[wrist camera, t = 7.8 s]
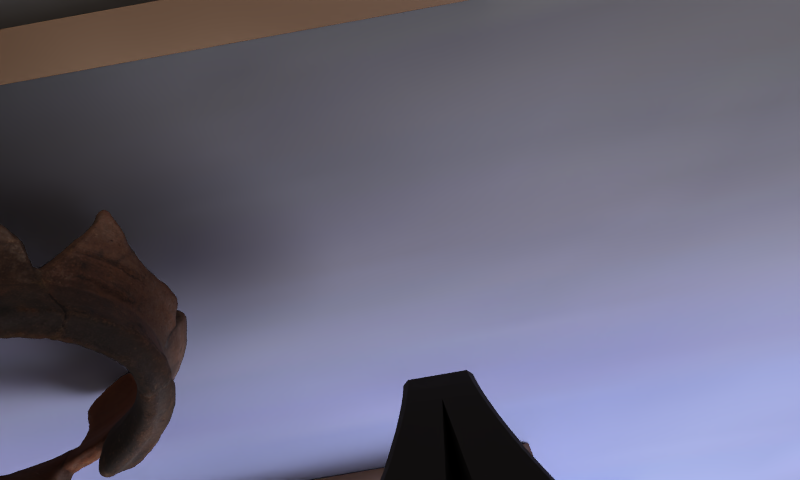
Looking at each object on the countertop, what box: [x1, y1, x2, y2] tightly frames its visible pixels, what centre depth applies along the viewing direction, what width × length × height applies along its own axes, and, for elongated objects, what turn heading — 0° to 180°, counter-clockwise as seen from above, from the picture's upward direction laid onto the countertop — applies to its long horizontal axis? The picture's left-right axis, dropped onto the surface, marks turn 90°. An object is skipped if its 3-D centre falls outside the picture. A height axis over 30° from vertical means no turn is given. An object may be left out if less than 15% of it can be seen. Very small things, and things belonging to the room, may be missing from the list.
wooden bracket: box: [0, 0, 533, 480], centre depth 14 cm, size 17×23×3 cm
